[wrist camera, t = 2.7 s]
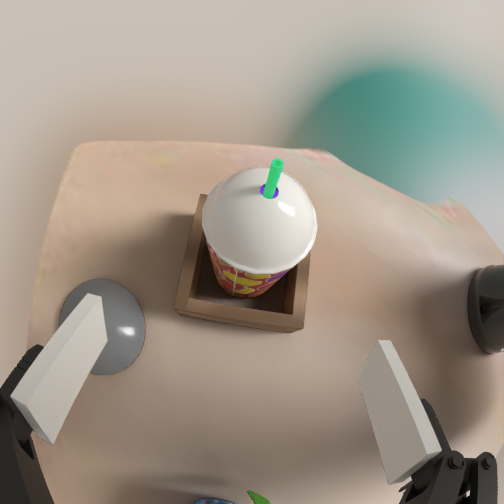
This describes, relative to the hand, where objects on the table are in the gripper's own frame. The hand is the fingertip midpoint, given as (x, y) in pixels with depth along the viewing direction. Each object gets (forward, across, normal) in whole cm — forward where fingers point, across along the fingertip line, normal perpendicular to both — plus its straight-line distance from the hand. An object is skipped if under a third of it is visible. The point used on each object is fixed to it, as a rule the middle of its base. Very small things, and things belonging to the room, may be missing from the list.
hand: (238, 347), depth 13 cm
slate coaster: (+13, -15, -13) cm, 24 cm away
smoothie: (+20, +1, -7) cm, 21 cm away
